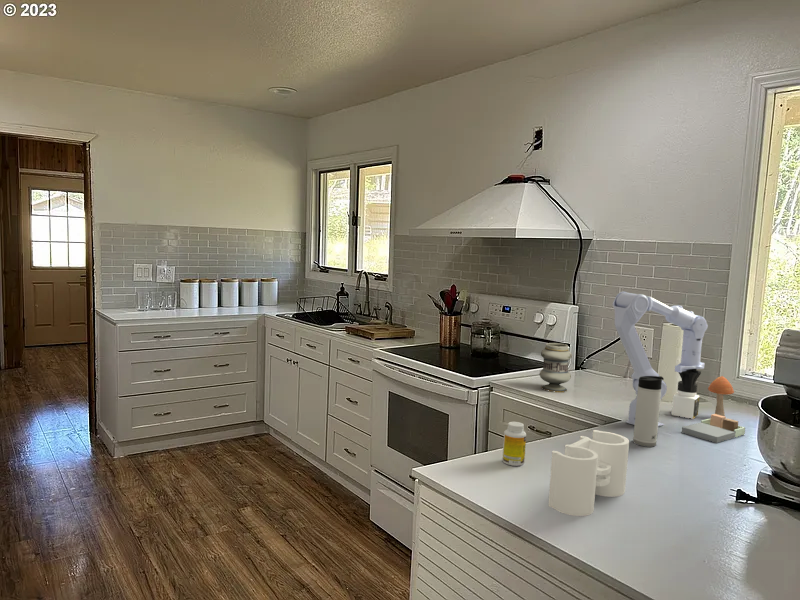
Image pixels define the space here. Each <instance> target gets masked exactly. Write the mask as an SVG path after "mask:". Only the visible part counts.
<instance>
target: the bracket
mask: <svg viewBox="0 0 800 600" xmlns="http://www.w3.org/2000/svg"><path fill="white" fill-rule="evenodd" d="M629 447H630V440H629V438H627V437H625V436H624V435H621V434H618V433H614V432H609V431H605V430H603V431H602V430H598V429H594V430H592V438H590V437H588V436H585V435H580V437H579V440H578V441H575V442H573V443H571V444H565V446H564V454H563V453H562V452H560V451H557V450H552V451H551V465H550V475H549V477H550V479H549V490H548V491H549V493H548V507H549V508H553V509H554V510H556V511H557V512H559V513H562V514H564V515H569V516H573V517H586V516H590V515H592V514H594V510H595V509H594V508H595V499H596V498H595V497H596V495H597V496H601V497H605V498H608V497H609V498H611V497H612V498H617V497H621V496H623V495H625V492H626V487H627V486H626V482H627V471H628V461H629V460H628V459H629V449H630V448H629Z"/></svg>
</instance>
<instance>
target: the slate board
mask: <svg viewBox="0 0 800 600" xmlns="http://www.w3.org/2000/svg"><path fill="white" fill-rule="evenodd" d="M681 433H682V434H684V433H685V434H686V435H688V436H691V437H695V438H699V439H702V440H704V441H705V440H706V441H708V440H709V442H711V441H712V443H714V444H715V443H716V444H718V442H719V443H722V442H725V441H724V440H726V441H728V440H727V439H729V440H732V439H731V438H733V439H735V438H734V437H735V434H736V432H734V431H730V430H726V429H723V428H719V427H715V426H712V425H708V424H705V423H701V422H697V423H692V424H689V425H685V426H682V427H681ZM721 441H722V442H721Z"/></svg>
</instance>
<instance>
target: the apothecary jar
mask: <svg viewBox="0 0 800 600" xmlns="http://www.w3.org/2000/svg"><path fill="white" fill-rule="evenodd" d="M540 355H541V358H543V364H542V369H541V370H540V371H539V377H540V379H541V380H542V381H544V382H547V384H543V385H541V387H540V389H542V388H543V389H542V390H544V389H545V390H544V391H546V390H549V391H548V392H550V391H555V392H554V393H565V392H564V391H566V392H567V391H568V390H567V388H566V387H564V386H563V385H561V384H565V383H567V382H569V381H570V380H571V378H572V374H571V373H570V371H569V360H571V359H572V358H573V354H572V352H571V351H570V350H569V345H568V344H566V343H558V342H549V343H546V344H545V347H544V348H543V349H542V350H541V352H540Z"/></svg>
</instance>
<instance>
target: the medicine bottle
mask: <svg viewBox="0 0 800 600" xmlns="http://www.w3.org/2000/svg"><path fill="white" fill-rule="evenodd" d="M697 391H698V384H697V383H696V382H695V385H694V388H693V390H692V392H690V393H689V392H685V391H684V389H683V384H682V380H679V381H678V382H677V392H676V393H674V394H673V396H672V403H671V406H672V407H671V416H675V417H679V416H680V417H679V418H684V417H685V419H689V418H691V419H690V420H694V419H695V418H696V417H697V416H698V415H699V407H700V399H701V398H700V397H701V396H700V395H697Z"/></svg>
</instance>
